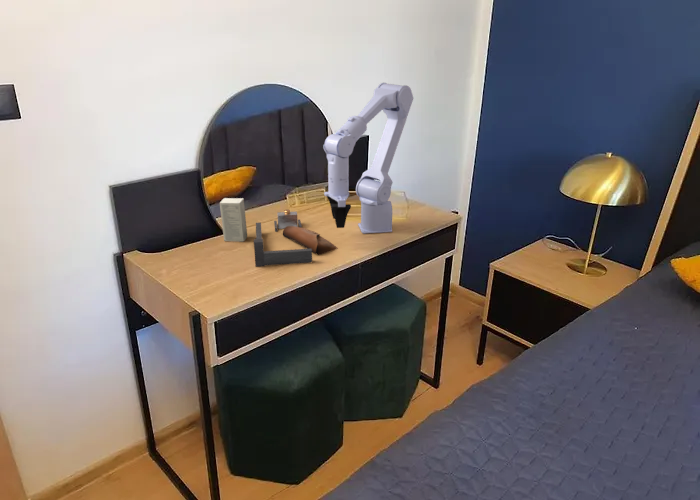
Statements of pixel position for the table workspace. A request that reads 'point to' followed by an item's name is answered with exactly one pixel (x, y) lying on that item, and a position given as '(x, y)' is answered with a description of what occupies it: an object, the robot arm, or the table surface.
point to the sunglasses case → (308, 239)
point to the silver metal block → (287, 219)
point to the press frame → (278, 252)
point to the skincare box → (233, 219)
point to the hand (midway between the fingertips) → (338, 222)
